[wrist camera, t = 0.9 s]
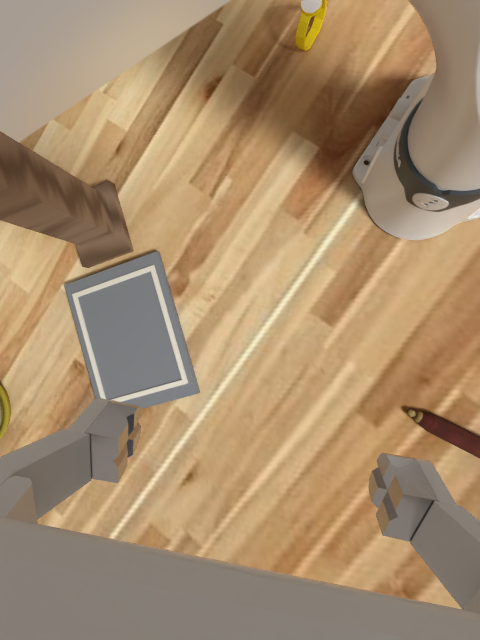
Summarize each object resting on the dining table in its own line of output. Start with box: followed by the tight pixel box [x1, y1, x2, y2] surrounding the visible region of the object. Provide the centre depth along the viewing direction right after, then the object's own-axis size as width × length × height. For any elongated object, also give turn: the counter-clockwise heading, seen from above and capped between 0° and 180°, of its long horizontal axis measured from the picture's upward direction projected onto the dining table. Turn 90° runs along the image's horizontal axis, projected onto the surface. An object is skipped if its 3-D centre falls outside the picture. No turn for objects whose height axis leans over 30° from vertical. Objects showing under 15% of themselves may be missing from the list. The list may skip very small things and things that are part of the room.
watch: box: [296, 0, 327, 51], centre depth 45 cm, size 6×3×6 cm, turn 148°
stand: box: [0, 132, 133, 268], centre depth 42 cm, size 12×9×26 cm
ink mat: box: [64, 251, 200, 409], centre depth 54 cm, size 24×18×1 cm
